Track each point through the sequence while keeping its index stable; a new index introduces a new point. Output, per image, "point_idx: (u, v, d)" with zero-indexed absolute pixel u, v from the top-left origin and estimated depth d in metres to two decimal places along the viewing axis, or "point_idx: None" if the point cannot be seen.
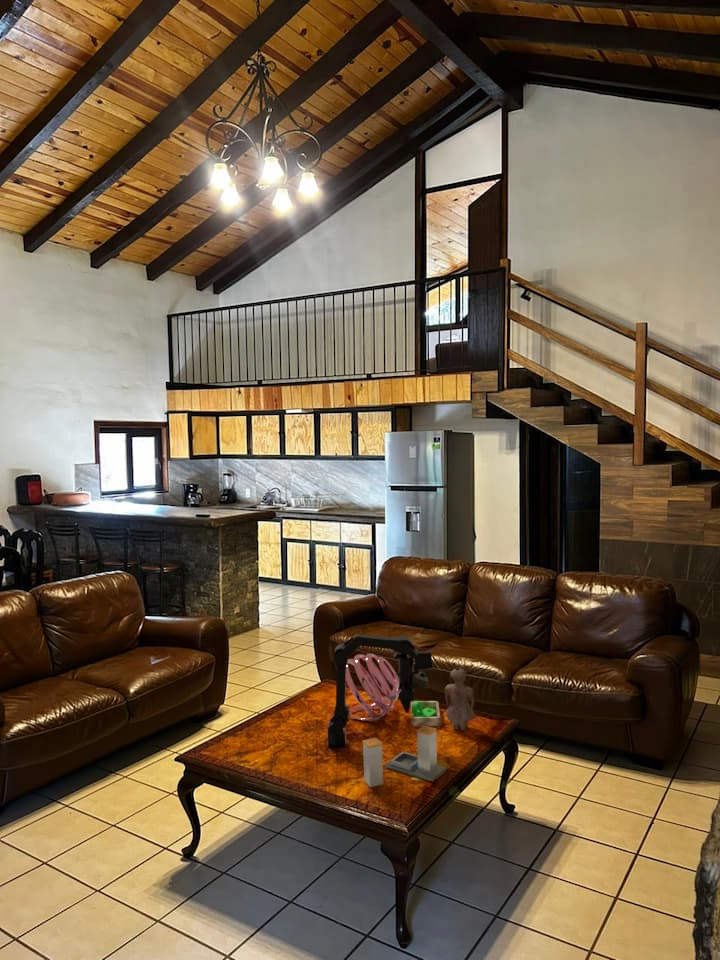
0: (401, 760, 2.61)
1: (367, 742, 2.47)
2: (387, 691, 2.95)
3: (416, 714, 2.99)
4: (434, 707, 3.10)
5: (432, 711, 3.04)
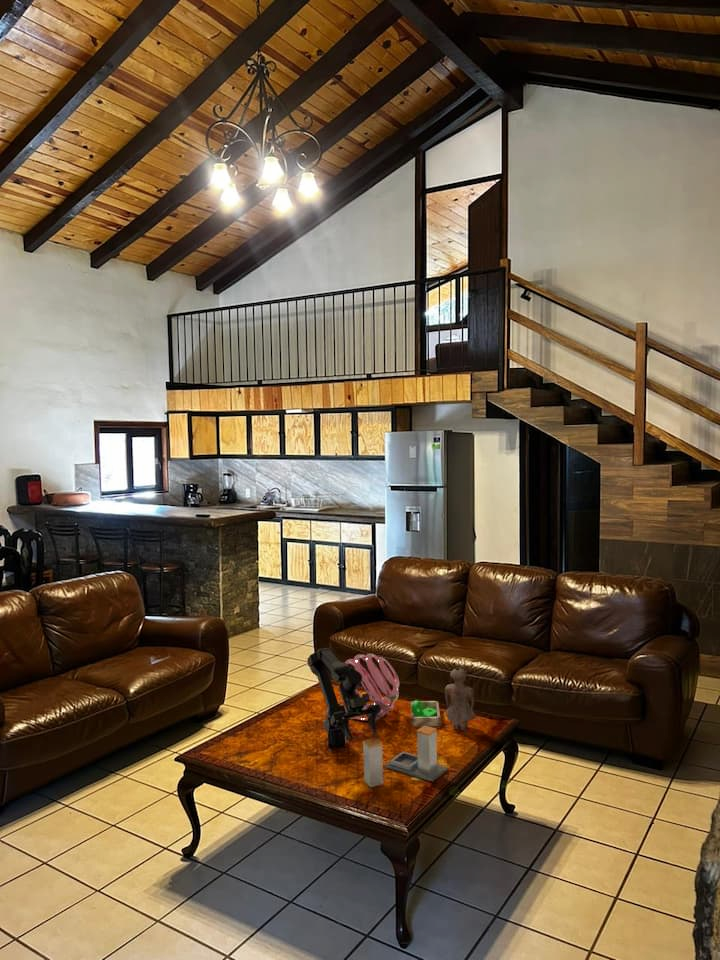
0: (401, 760, 2.61)
1: (367, 742, 2.47)
2: (387, 691, 2.95)
3: (416, 714, 2.99)
4: (434, 707, 3.10)
5: (432, 711, 3.04)
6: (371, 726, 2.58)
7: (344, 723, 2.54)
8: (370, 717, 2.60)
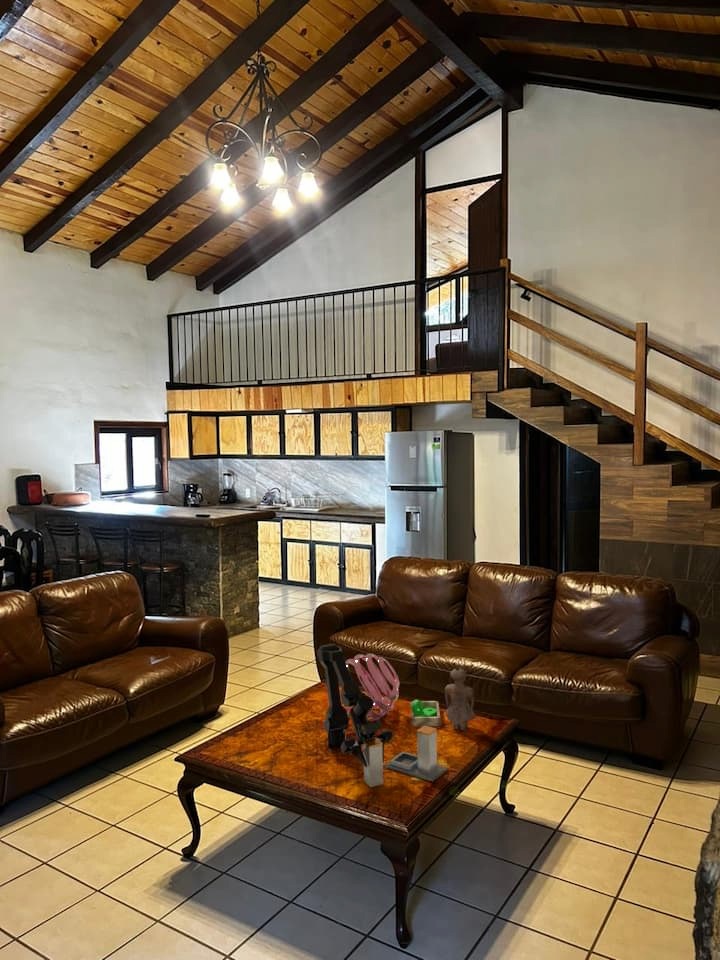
0: (401, 760, 2.61)
1: (367, 742, 2.47)
2: (387, 691, 2.95)
3: (416, 713, 3.00)
4: (434, 707, 3.10)
5: (433, 711, 3.05)
6: None
7: (359, 750, 2.46)
8: None
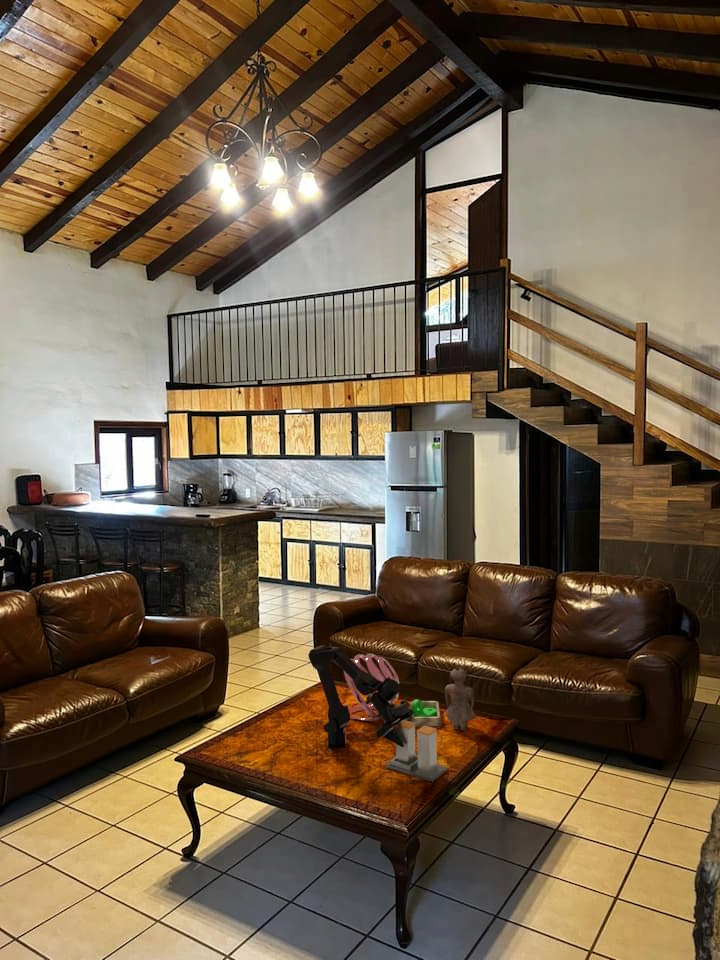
0: None
1: (402, 725, 2.57)
2: None
3: (416, 713, 3.01)
4: (434, 707, 3.10)
5: (432, 710, 3.05)
6: None
7: (394, 732, 2.55)
8: None
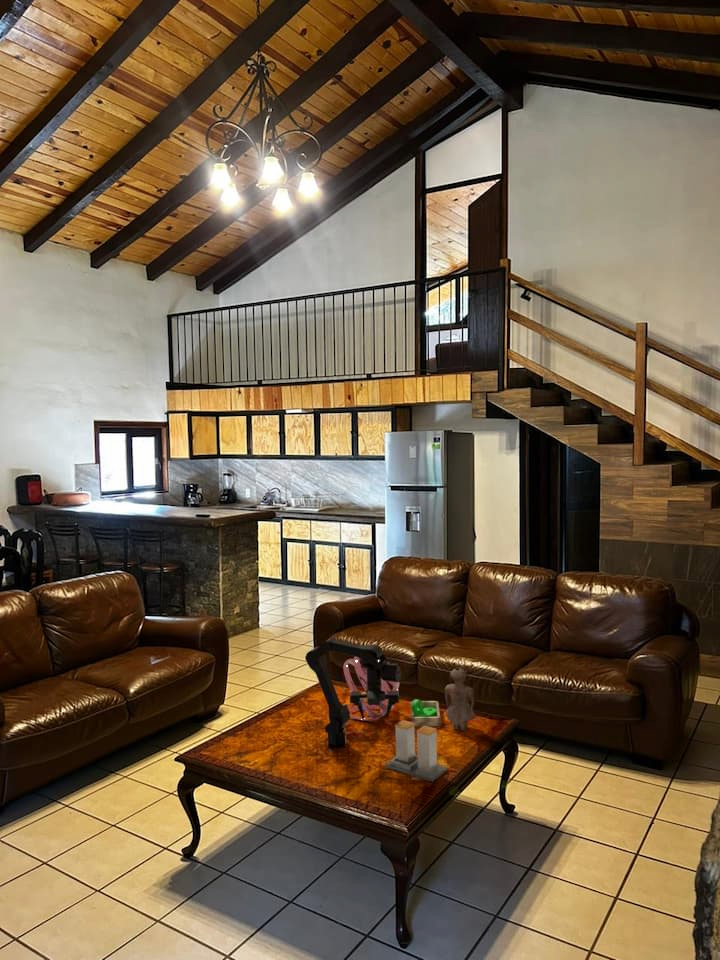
0: None
1: (401, 725, 2.57)
2: (387, 691, 2.95)
3: (416, 713, 3.01)
4: (434, 707, 3.10)
5: (432, 710, 3.05)
6: None
7: (358, 706, 2.69)
8: None
